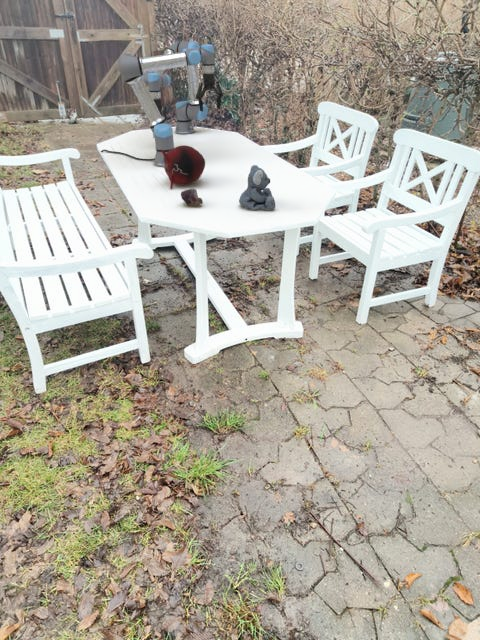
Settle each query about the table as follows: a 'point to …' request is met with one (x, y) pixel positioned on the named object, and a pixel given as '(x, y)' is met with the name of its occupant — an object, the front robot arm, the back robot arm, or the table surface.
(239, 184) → the table surface
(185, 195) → the rock
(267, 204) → the koala plush
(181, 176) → the red pot
